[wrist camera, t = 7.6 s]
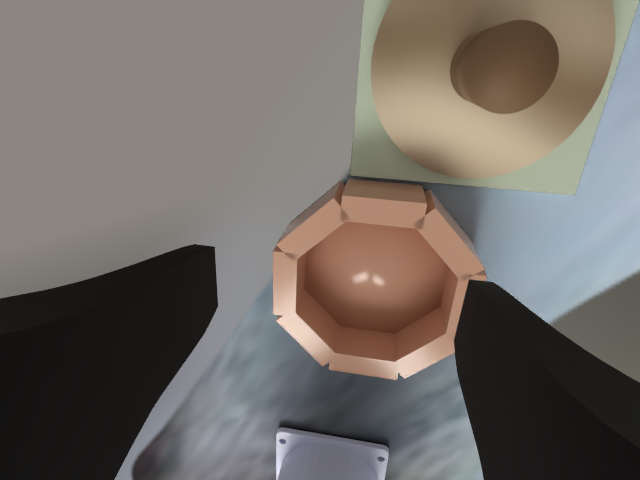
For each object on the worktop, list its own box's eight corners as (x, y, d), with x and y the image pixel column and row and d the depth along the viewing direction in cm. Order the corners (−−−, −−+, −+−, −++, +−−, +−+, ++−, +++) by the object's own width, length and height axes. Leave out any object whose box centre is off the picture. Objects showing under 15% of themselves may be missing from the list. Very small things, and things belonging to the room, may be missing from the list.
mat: (570, 192, 18) (574, 195, 18) (350, 173, 20) (349, 175, 19) (662, -86, 14) (669, -90, 14) (371, -86, 15) (371, -90, 15)
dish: (449, 351, 23) (457, 389, 20) (286, 328, 24) (273, 360, 22) (487, 190, 19) (503, 210, 16) (288, 172, 20) (272, 189, 18)
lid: (563, 184, 18) (612, 219, 14) (360, 165, 19) (353, 192, 15) (648, -67, 14) (750, -118, 10) (385, -73, 15) (384, -121, 11)
